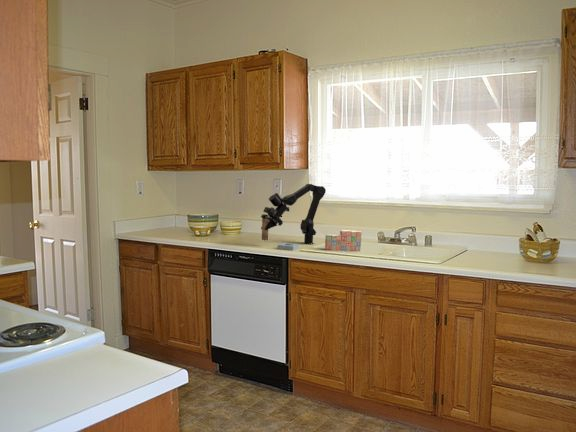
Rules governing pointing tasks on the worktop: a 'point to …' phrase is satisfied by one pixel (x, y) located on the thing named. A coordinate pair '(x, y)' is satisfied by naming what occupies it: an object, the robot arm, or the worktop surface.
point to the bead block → (288, 246)
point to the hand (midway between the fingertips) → (263, 229)
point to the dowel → (264, 232)
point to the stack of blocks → (344, 241)
